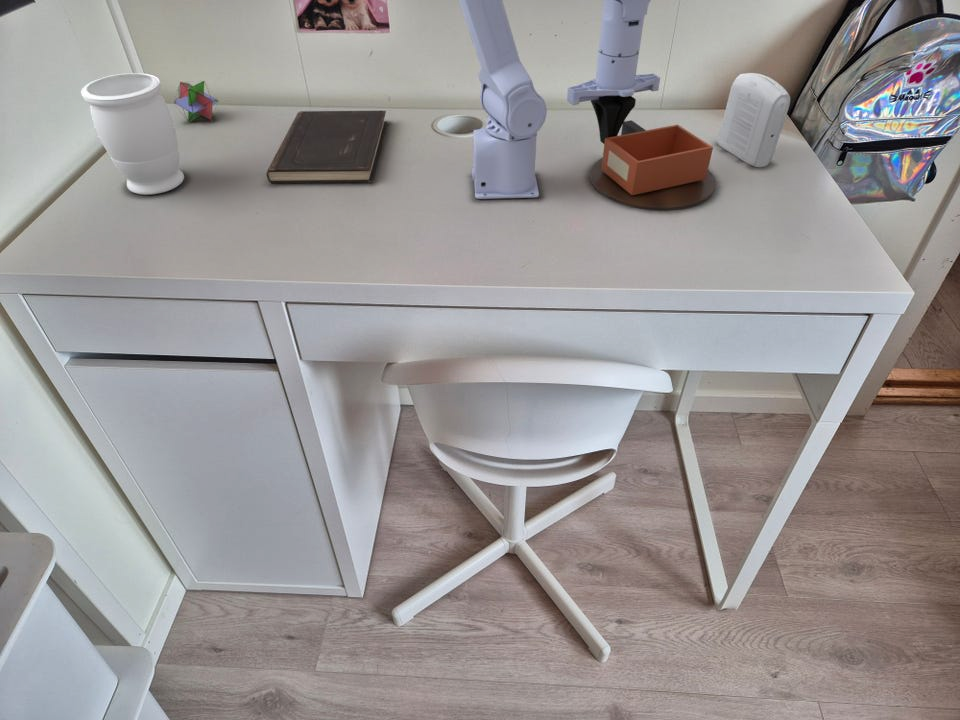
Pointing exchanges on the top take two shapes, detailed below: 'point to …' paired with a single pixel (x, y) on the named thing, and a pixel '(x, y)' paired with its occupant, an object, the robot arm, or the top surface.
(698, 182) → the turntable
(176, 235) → the top surface
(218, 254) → the top surface
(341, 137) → the hardcover book
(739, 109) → the photo printer
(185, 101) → the geometric puzzle
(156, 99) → the jar
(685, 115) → the top surface
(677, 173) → the bin
